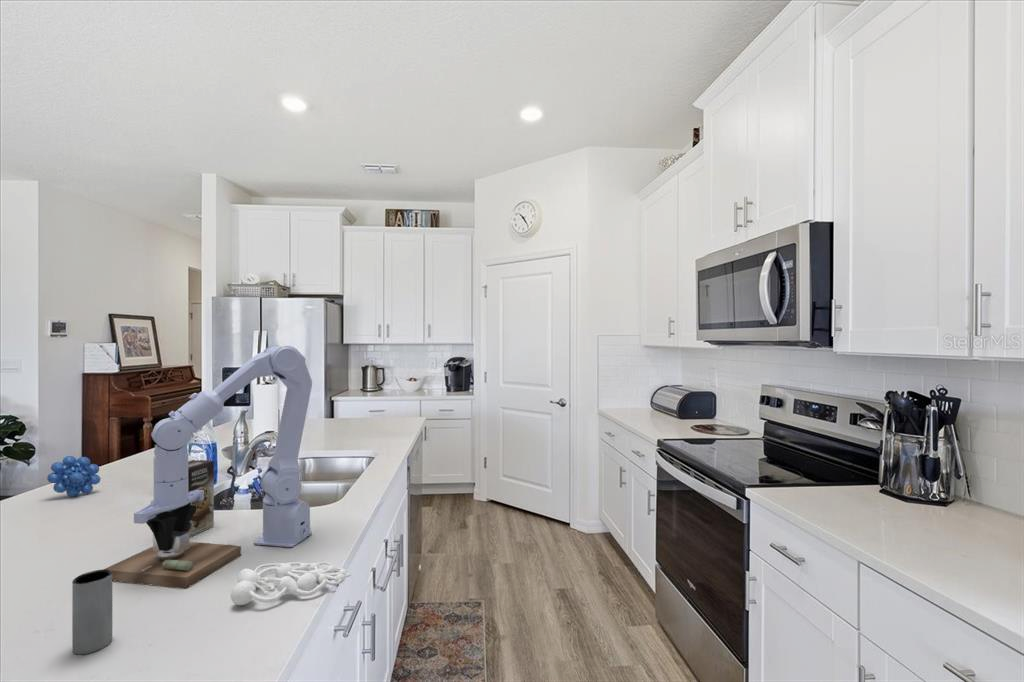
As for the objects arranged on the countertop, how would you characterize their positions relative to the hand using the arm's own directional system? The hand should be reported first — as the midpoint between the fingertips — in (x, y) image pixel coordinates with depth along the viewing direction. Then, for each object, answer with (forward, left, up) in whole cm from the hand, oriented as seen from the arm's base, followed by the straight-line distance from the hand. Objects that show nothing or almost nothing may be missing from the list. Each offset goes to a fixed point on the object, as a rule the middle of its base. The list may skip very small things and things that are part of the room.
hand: (171, 546), depth 99 cm
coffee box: (+11, -16, -4) cm, 20 cm away
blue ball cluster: (+64, -33, -4) cm, 72 cm away
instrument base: (-1, 0, -4) cm, 4 cm away
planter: (-10, +24, -4) cm, 26 cm away
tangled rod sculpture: (-28, +3, -5) cm, 28 cm away
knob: (0, 0, -2) cm, 2 cm away
